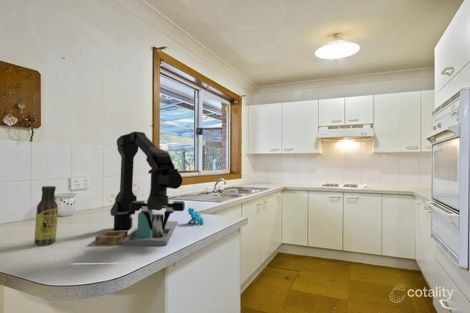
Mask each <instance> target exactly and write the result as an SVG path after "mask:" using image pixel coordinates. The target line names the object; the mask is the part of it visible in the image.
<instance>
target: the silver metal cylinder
mask: <svg viewBox="0 0 470 313" xmlns="http://www.w3.org/2000/svg"><path fill="white" fill-rule="evenodd" d="M163 221H164V213H154V214H152V238H162V237H163Z"/></svg>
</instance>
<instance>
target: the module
mask: <svg viewBox="0 0 470 313" xmlns="http://www.w3.org/2000/svg"><path fill="white" fill-rule="evenodd" d="M152 214H155V210H152ZM137 228H138V234H137V237H151V236H152V230H150V227H149V224H148V221H147V218H146V216H145V215H144V214H143V213H141V211H139V212H138V213H137Z"/></svg>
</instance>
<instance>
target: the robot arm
mask: <svg viewBox="0 0 470 313" xmlns="http://www.w3.org/2000/svg"><path fill="white" fill-rule="evenodd" d="M116 146H117V151H118V153H119V155H120V156H121V158H120V159H121V160H120V162H121V163H120V178H119V179H120V181H119V182H120V183H119V192H118V194H116V196H115V199H114V203H113V205H112V207H111V209H110V216H111V217H112V216H113V229H112V231H130V230H131V229H132V228H133V217H132V215H135V214H136V212H138V211H139V212H141V213H143V214H144V215H145V216H146V218H147V221H148V224H149V227H150V230H152V211H162V210H163V209H165V211H164V213H163V214H164V219H163V221H164V222H163V230H164V229H165V226H166V223H167V221H168V220H169V217H170V216H171V214H173V213H174V212H183V211H185V208H186V206H185V205H186V203H185V202H184V201H183V200H180V201H179V200H174V201H173V202H172V203H171V202H169V201H170V200H169V195H168V194H167V193H168V192H167V190H168V189H173V190H176V189H178V188H180V187H181V186H182V183H183V177H182V174H181V173H180V172H179V170H178V168H176V166H175V164H174V162H173V159H172V158H171V155H170V153H169V152H167V151H165V150H164V149H161V148H159V147H157V146H156V145H155V143H153V141H151V140H150V138H148V137H147V135H146V133H145V132H142V131H132V132H130V133H127V134H123V135H121V136H119V137H118V138H117V140H116ZM139 149H140V150H141V151H142V152H143V154H144V155H145V156H146V160H145V161H146V162H147V164H148V165H149V167H150V168H151V169H149V170H148V174H150V191H149V196H148V197H147V201H146V202H145V200H138V199H137V198H138V197H137V195H135V193H134V191H133V182H134V181H133V180H134V179H133V178H134V161H135V160H134V159H135V156H136V155H137V153H138V152H139Z"/></svg>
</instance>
